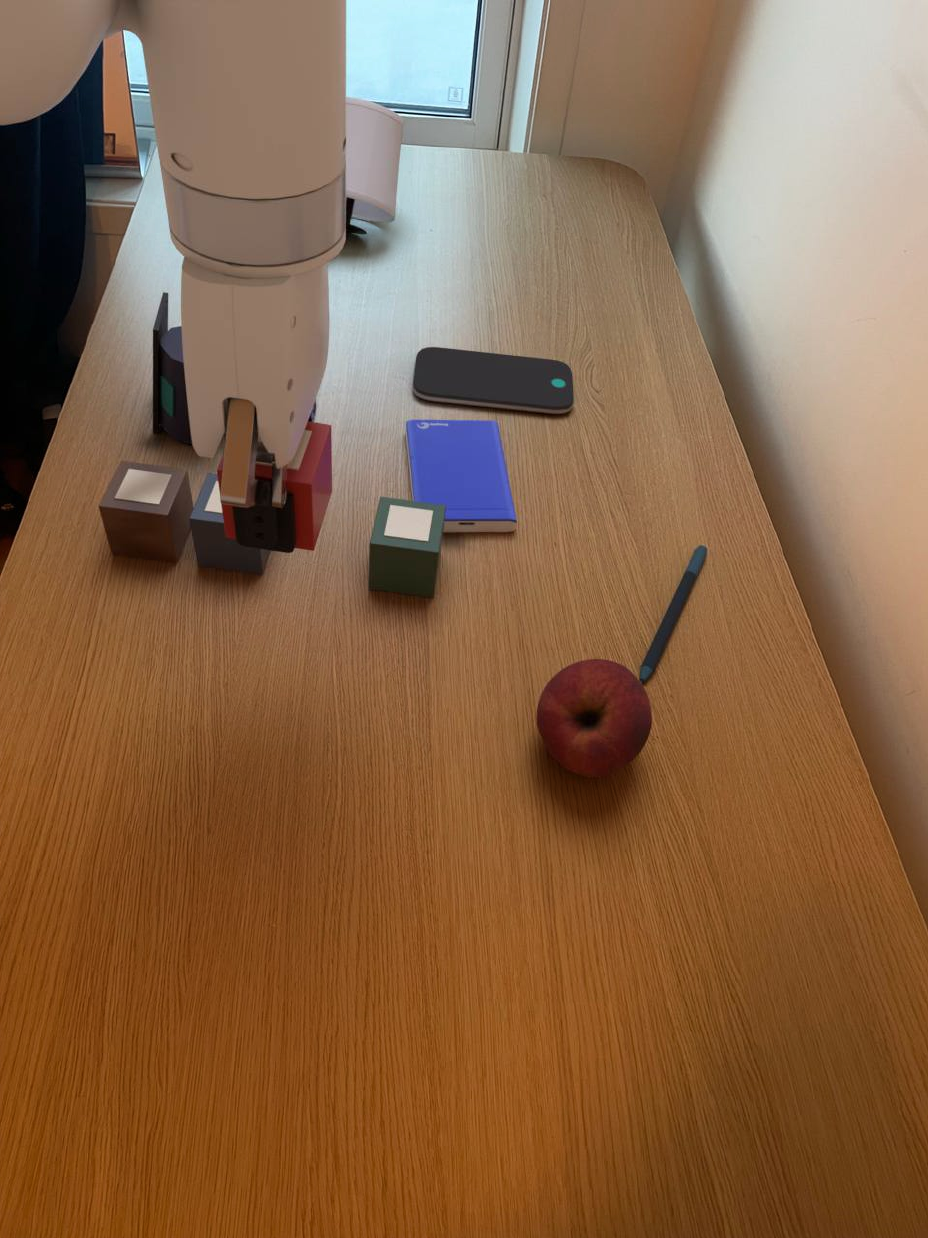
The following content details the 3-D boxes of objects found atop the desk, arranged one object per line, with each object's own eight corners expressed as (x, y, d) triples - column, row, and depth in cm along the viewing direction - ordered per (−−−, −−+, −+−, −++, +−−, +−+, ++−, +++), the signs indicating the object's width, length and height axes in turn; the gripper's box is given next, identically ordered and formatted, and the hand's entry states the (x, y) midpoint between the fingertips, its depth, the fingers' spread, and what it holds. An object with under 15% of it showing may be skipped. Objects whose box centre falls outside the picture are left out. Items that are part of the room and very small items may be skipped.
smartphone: (574, 409, 86) (411, 392, 85) (573, 417, 86) (411, 400, 86) (572, 360, 91) (417, 343, 90) (570, 368, 91) (417, 351, 91)
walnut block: (111, 554, 70) (97, 504, 67) (132, 508, 74) (120, 459, 70) (177, 563, 71) (167, 514, 67) (195, 517, 74) (187, 468, 70)
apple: (503, 745, 63) (521, 675, 57) (576, 682, 67) (599, 611, 61) (588, 818, 60) (616, 753, 54) (659, 748, 64) (692, 680, 58)
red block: (225, 537, 52) (215, 468, 48) (248, 478, 56) (241, 409, 52) (313, 551, 52) (311, 483, 48) (332, 491, 56) (331, 423, 52)
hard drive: (405, 418, 82) (416, 519, 74) (498, 419, 83) (518, 518, 75) (404, 432, 83) (415, 533, 75) (495, 433, 84) (515, 532, 76)
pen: (631, 685, 68) (635, 675, 67) (694, 550, 77) (698, 540, 76) (645, 691, 68) (649, 682, 67) (706, 555, 77) (711, 545, 76)
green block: (368, 589, 71) (369, 542, 67) (378, 542, 74) (380, 494, 70) (433, 598, 71) (439, 551, 67) (440, 551, 74) (446, 504, 70)
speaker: (128, 430, 79) (120, 322, 71) (163, 394, 83) (159, 289, 75) (211, 461, 79) (212, 356, 71) (242, 424, 83) (246, 321, 75)
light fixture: (393, 289, 100) (428, 120, 97) (248, 245, 93) (281, 61, 90) (363, 292, 109) (394, 137, 106) (229, 252, 102) (258, 85, 99)
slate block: (197, 566, 71) (188, 517, 67) (214, 520, 74) (207, 471, 70) (263, 574, 71) (258, 526, 67) (277, 528, 74) (273, 480, 70)
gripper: (225, 106, 45) (253, 409, 59) (96, 293, 34) (167, 612, 48) (378, 129, 45) (370, 427, 59) (298, 324, 34) (311, 634, 48)
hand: (279, 508), depth 54 cm, fingers closed on red block, 5 cm apart
